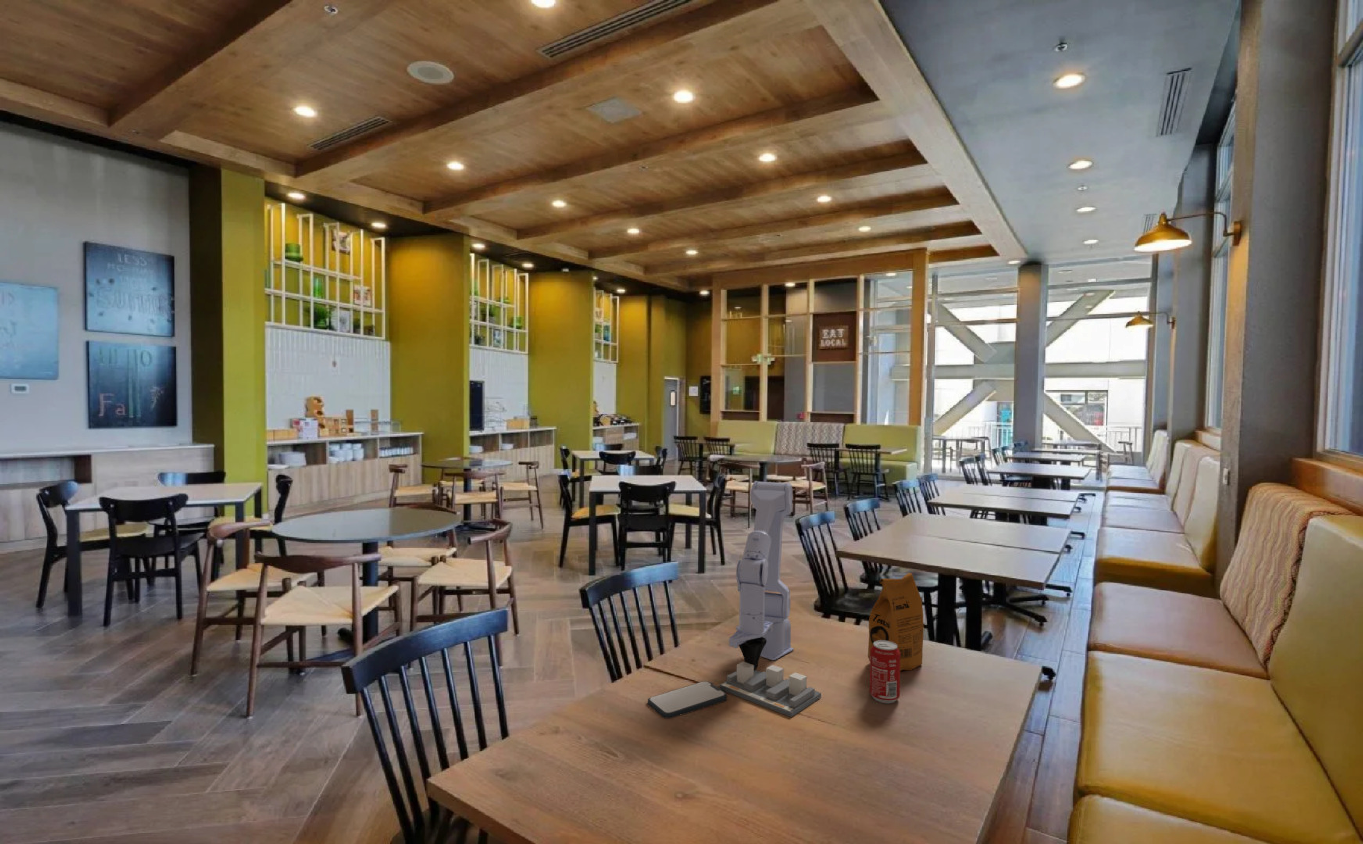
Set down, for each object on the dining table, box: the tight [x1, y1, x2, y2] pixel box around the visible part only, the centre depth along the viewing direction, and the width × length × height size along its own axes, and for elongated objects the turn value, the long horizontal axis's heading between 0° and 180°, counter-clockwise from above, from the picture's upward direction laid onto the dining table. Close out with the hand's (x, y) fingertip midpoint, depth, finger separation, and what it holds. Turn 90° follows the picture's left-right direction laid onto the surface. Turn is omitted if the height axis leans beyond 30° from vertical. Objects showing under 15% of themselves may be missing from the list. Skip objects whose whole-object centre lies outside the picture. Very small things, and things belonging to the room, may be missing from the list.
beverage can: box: [869, 640, 901, 704], centre depth 142 cm, size 6×6×12 cm
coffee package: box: [867, 572, 924, 672], centre depth 160 cm, size 10×12×22 cm
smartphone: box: [647, 680, 728, 719], centre depth 140 cm, size 9×2×16 cm
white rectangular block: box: [765, 664, 784, 687], centre depth 146 cm, size 2×3×4 cm
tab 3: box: [788, 672, 808, 696], centre depth 142 cm, size 2×3×4 cm
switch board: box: [718, 669, 822, 718], centre depth 144 cm, size 12×19×2 cm, turn 48°
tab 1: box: [736, 661, 754, 684], centre depth 147 cm, size 2×3×4 cm
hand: (751, 669), depth 149 cm, fingers closed
